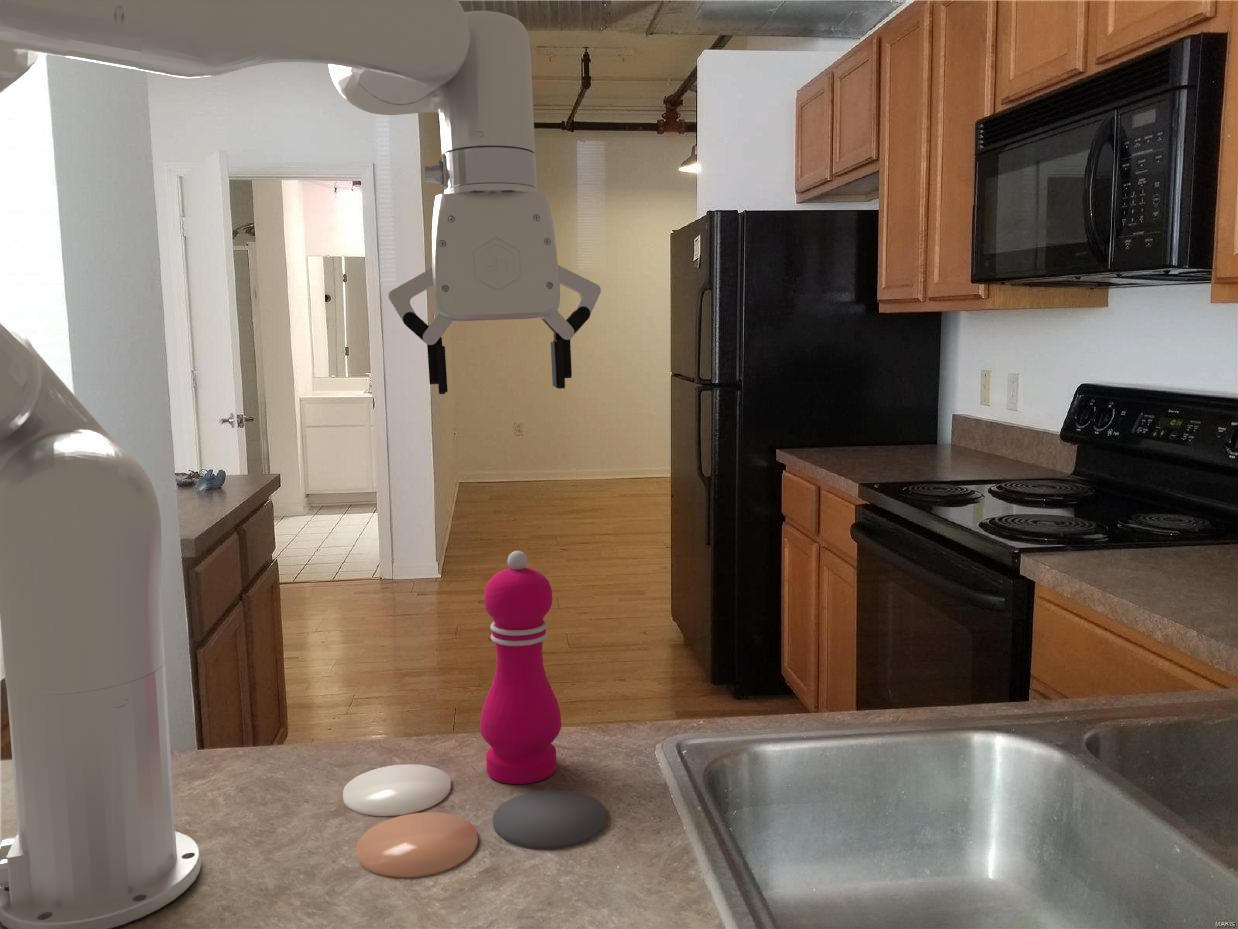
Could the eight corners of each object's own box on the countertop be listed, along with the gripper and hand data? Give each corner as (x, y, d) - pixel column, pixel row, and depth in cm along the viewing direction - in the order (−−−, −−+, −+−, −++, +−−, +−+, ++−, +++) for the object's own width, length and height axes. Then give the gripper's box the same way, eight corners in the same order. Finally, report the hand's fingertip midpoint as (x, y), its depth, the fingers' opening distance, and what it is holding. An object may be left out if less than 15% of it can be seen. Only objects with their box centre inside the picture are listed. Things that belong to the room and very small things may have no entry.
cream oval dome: (349, 828, 76) (348, 819, 76) (338, 782, 85) (338, 774, 85) (461, 808, 80) (460, 799, 79) (440, 766, 88) (439, 758, 88)
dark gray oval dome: (510, 861, 71) (510, 851, 71) (481, 811, 79) (480, 801, 79) (623, 837, 74) (623, 827, 74) (583, 791, 82) (583, 782, 82)
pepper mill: (467, 781, 84) (461, 556, 82) (501, 749, 91) (496, 541, 88) (544, 792, 82) (540, 561, 79) (573, 758, 88) (570, 545, 86)
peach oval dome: (364, 893, 67) (363, 882, 67) (350, 834, 75) (350, 824, 75) (490, 867, 70) (490, 856, 70) (463, 813, 79) (463, 804, 79)
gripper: (377, 172, 73) (393, 398, 75) (602, 170, 76) (611, 387, 78) (383, 188, 80) (397, 393, 82) (588, 186, 83) (597, 384, 85)
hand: (501, 390), depth 80 cm, fingers open, 9 cm apart
